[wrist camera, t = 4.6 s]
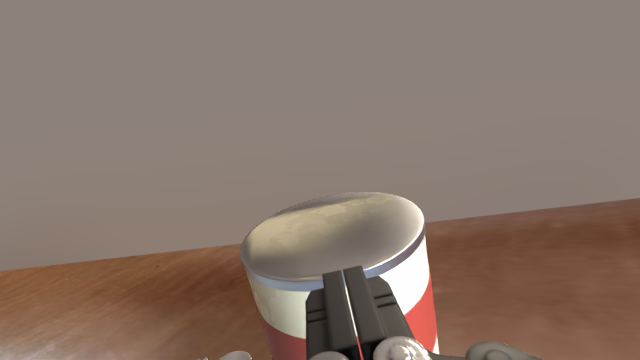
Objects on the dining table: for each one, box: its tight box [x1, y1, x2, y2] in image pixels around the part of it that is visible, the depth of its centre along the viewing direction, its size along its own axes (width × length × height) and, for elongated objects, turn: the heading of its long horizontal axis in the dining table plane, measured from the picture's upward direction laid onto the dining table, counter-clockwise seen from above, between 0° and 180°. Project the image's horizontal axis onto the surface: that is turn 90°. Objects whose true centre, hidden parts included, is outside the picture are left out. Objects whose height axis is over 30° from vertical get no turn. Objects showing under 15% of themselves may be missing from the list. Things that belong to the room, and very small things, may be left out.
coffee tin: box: [240, 192, 440, 360], centre depth 24 cm, size 13×13×13 cm
